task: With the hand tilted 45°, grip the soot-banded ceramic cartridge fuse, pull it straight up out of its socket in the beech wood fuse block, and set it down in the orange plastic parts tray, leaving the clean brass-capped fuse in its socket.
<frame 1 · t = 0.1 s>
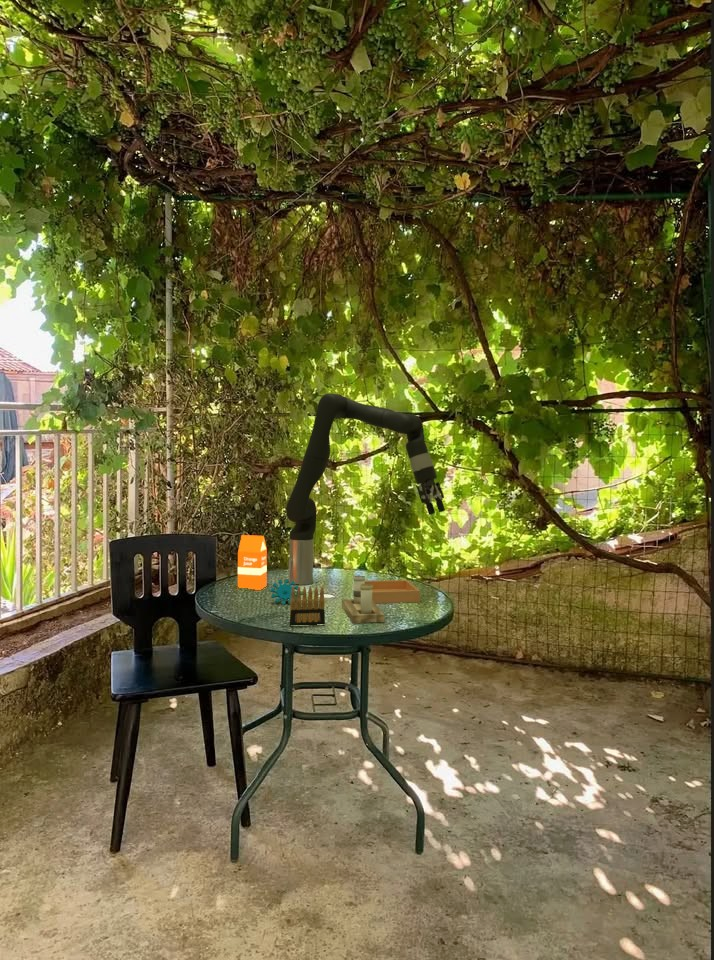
hand: (437, 512, 243), 31 cm above the table, tool tilted 20°, fingers open, 8 cm apart
parts tray: (389, 596, 252), on the table
gear: (286, 603, 241), on the table
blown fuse: (358, 609, 234), resting in fuse block
fuse block: (362, 614, 227), on the table
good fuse: (366, 619, 221), resting in fuse block
ammunition clip: (307, 626, 214), on the table
orange juice: (252, 589, 262), on the table
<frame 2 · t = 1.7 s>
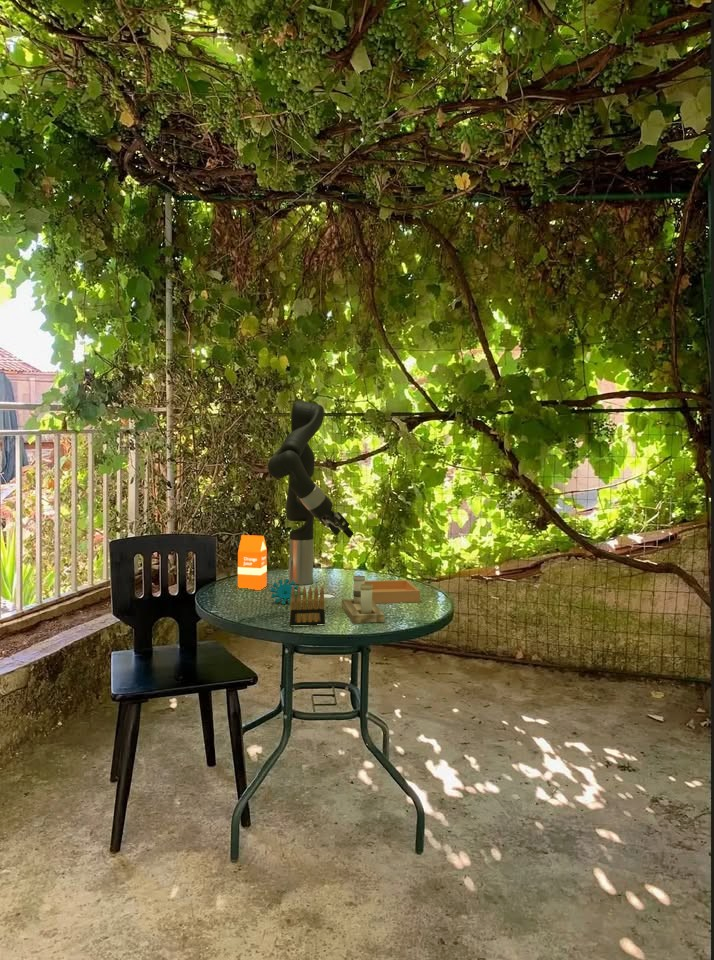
hand: (344, 534, 235), 25 cm above the table, tool tilted 45°, fingers open, 8 cm apart
nothing on the table moved.
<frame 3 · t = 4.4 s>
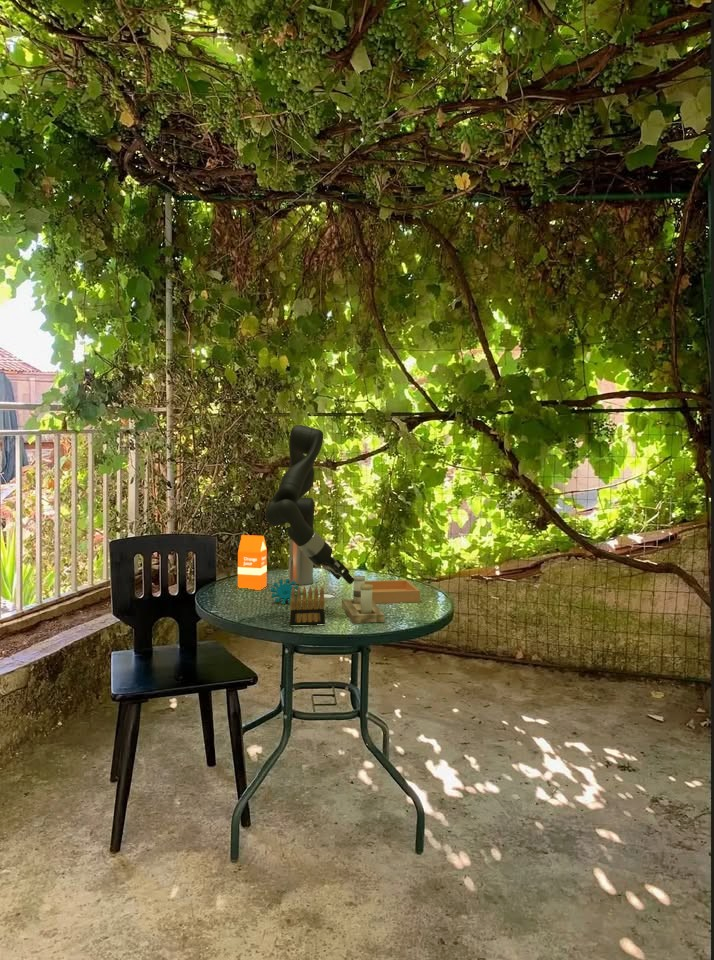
hand: (345, 579, 231), 10 cm above the table, tool tilted 45°, fingers open, 8 cm apart
nothing on the table moved.
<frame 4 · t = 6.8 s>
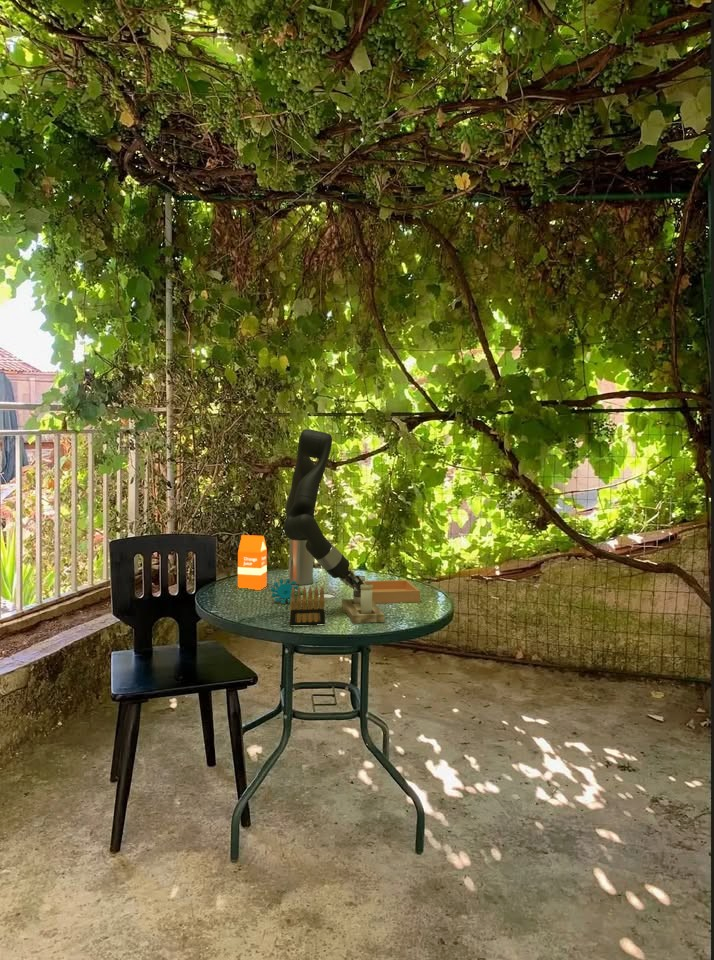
hand: (364, 593, 234), 5 cm above the table, tool tilted 45°, fingers closed on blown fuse, 3 cm apart
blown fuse: (358, 609, 234), resting in fuse block, touching gripper
everything else where it was.
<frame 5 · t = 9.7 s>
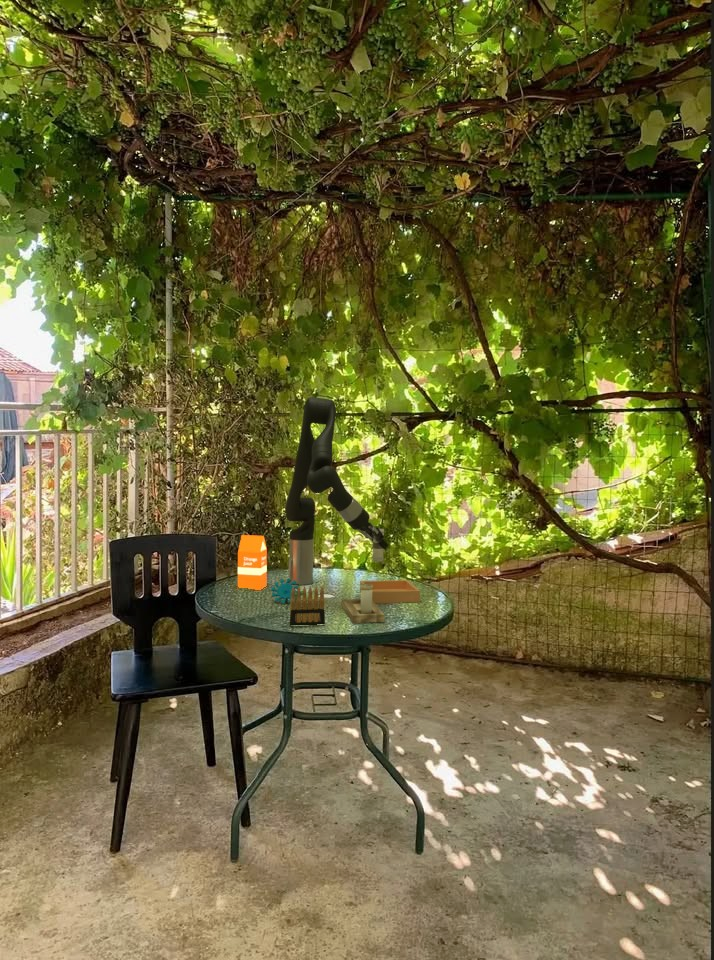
hand: (383, 545, 245), 19 cm above the table, tool tilted 45°, fingers closed on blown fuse, 3 cm apart
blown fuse: (377, 560, 244), point 14 cm above the table, touching gripper
when the fingers open (7 cm above the table, at t = 13.0 s): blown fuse drops 1 cm, resting on parts tray.
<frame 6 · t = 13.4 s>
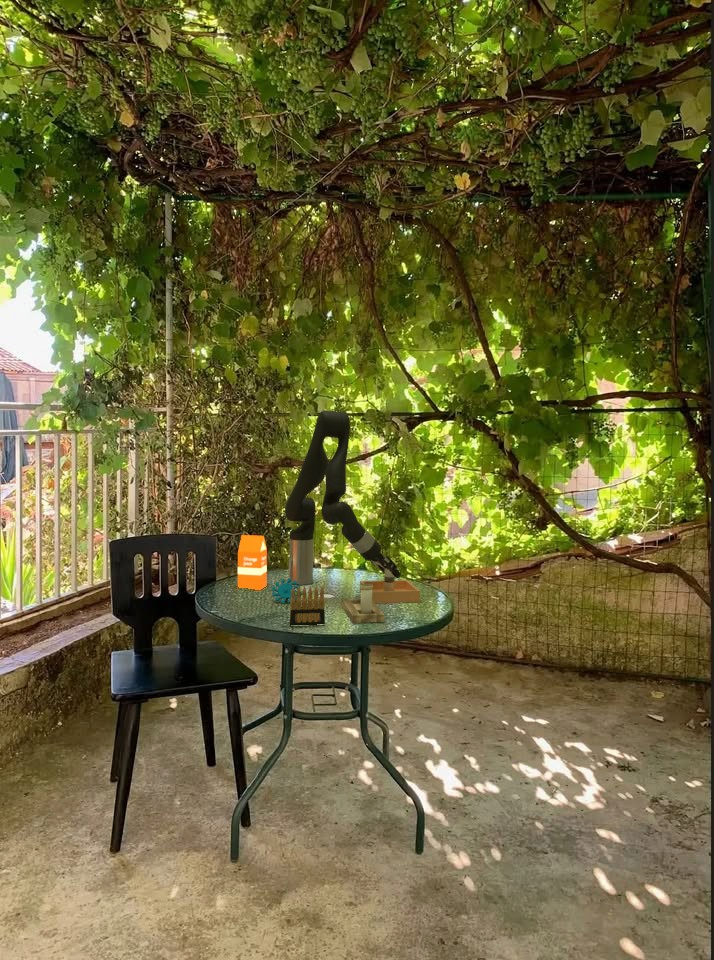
hand: (393, 574, 252), 8 cm above the table, tool tilted 45°, fingers open, 7 cm apart
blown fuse: (389, 594, 252), point 1 cm above the table, touching parts tray
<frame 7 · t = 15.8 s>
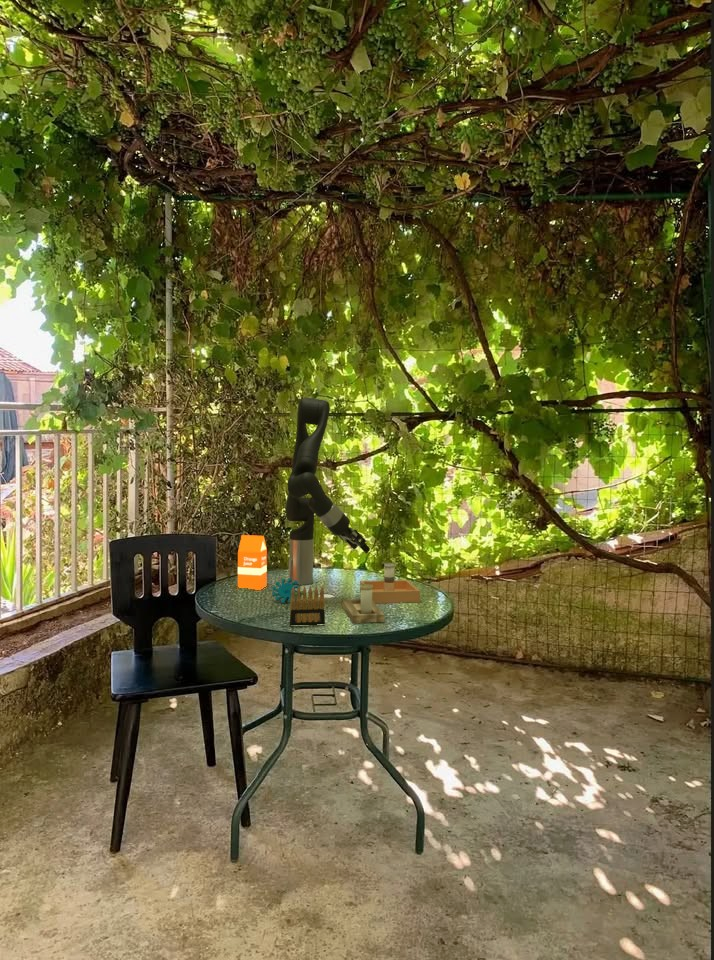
hand: (362, 549, 245), 18 cm above the table, tool tilted 45°, fingers open, 8 cm apart
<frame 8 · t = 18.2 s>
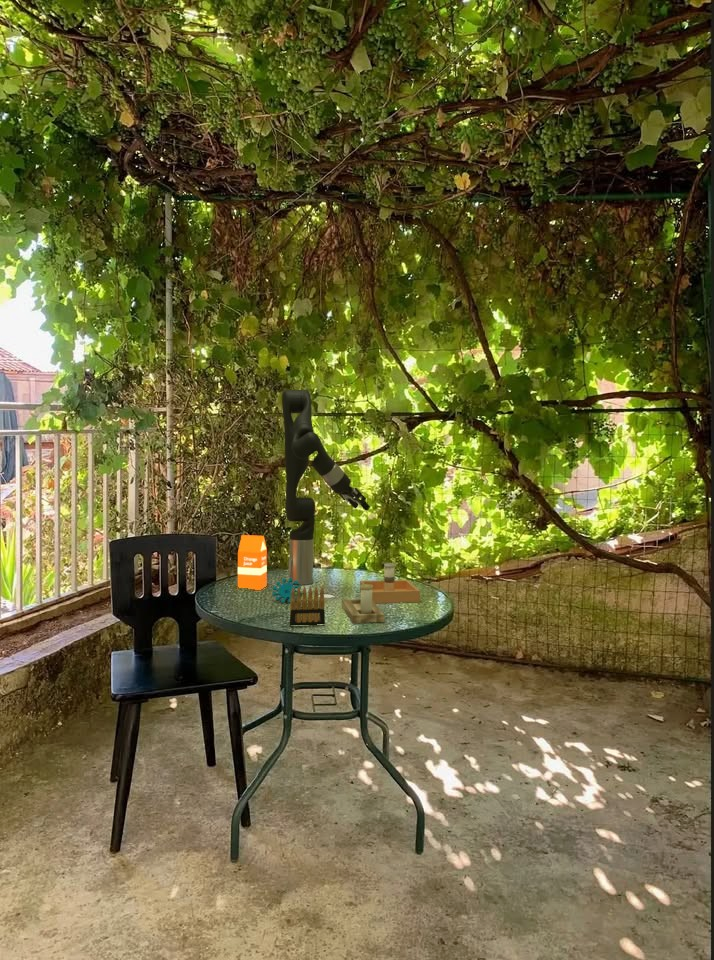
hand: (362, 507, 262), 31 cm above the table, tool tilted 45°, fingers open, 8 cm apart
at the end: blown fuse inside the target area on the parts tray (0.0 cm from its centre), point 1.0 cm above the parts tray's base; the gripper is holding nothing; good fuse moved 0.0 cm from its start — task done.
